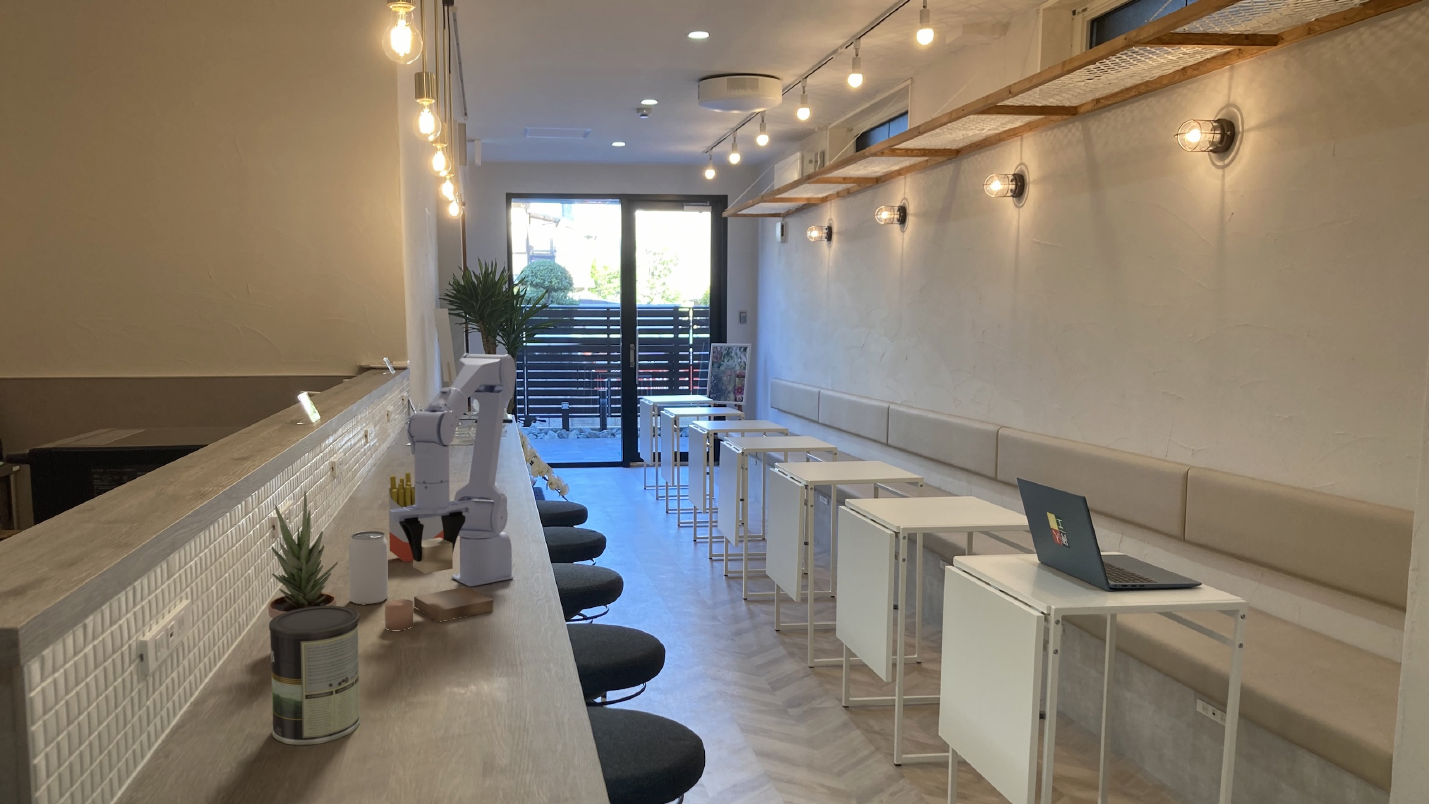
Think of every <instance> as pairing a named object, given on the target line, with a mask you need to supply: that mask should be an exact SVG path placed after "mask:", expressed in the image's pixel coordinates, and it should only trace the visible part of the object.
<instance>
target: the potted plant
mask: <svg viewBox="0 0 1429 804" xmlns="http://www.w3.org/2000/svg"><path fill="white" fill-rule="evenodd" d="M303 492H304V493H303V508H302V510H303V511H302V525H301V530H300V527H299V525H297V532H296V533H297V534H296V535H297V538H296V539H297V540H295V539H294V536H293V535H292V533H291V530H290V529H289V527H288V524H287V523H286V521H285V519H284V517H283V515H282V514H281V512H280V510H279V508H278V506H277V505H276V504H274V507H275V509H274V510H275V513H276V516H277V519H278V522H279V528H280V531H281V532H280V533H281V535H282V539H283V542H284V544H285V546H284V545H283V543H282V541H279V546H280V549H281V551H282V554H283V555H284V556H283V555H282V554H280V552H278V551H277V550H276V549H275V548H274V547H273V546H271V551H272V552H273V554H274V555H275V557H276V558H277V560H278V562H279V564H280V566H281V568H282V570H283V572H284V573H285V575H284V574H281V575H280V574H278V575H276V574H275V573H271V575H272V576H273V578H274V579H276V580H277V581H278V582H279V583H281V585H283V586H284V587H285V588H286V590H287V591H288V592H289V593H288V592H286V590H284V589H281V588H279V589H278V590H279V592H281V593H282V594H283V595H281V596H278V597H276V598H273V599H272V600H271V601H269V603H268V605H267V606H268V616H269V618H271V620H272V619H273V618H275V617H276V616H278V615H280V614H283V613H285V612H288V611H292V610H296V609H301V608H306V607H315V606H337V605H336V603H337V598H336V596H335V595H334V594H332V593H328V592H323V590H324V589H325V587H326V585H325V584H326V582H327V581H328V579H329V578H330V576H332V575H331V574H332V572H331V571H332V570H333V569H334V568H335V567H336V566H337V565H338V563H339V561H336V562H335V563H334V564H333V565H332V566H331V567H330V568H329V569H328V570H326V571H325V572H324V573H322V574H321V575H320V573H321V571H322V570H323V567H324V565H323V564H321V563H322V559H321V558H322V555H323V552H324V550H325V545H324V544H323V545H322V547H321V543H322V539H323V532H324V531H323V530H321V531H320V532H319V535H318V537H317V539H316V540H315V542H314V543H313V544H312V546H311V545H310V544H311V542H310V541H311V534H312V529H311V528H312V526H311V520H312V519H311V518H312V516H311V510H308V504H307V503H308V502H307V492H306V490H304V491H303ZM296 541H297V542H296ZM310 546H311V547H310ZM320 547H321V548H320ZM319 575H320V576H319Z"/></svg>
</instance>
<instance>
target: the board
mask: <svg viewBox="0 0 1429 804" xmlns="http://www.w3.org/2000/svg"><path fill="white" fill-rule="evenodd" d="M414 607H416V608H418V609H419V610H420V611H419V610H418V611H419V612H421V611H422V612H424V613H425V614H424V613H423V614H424V615H426V616H427V615H428V616H427V617H429V616H430V617H429V618H431V617H432V618H433V619H432V618H431V619H432V620H434V619H435V620H434V621H436V620H437V621H439V622H438V623H441V622H440V621H443V622H445V621H444V620H448V621H451V620H450V619H453V618H457V619H460V618H459V617H462V618H465V616H467V617H472V616H476V615H481V614H485V612H486V613H490V612H494V599H492V598H490V597H488V596H486V595H484V594H483V593H481V592H478V591H477V590H474V589H472V588H471V587H470V586H462V587H458V588H452V589H451V588H450V589H447V590H442V591H437V592H435V591H434V592H431V593H425V594H421V595H420V594H419V595H415V596H413V608H414ZM416 608H415V609H416ZM422 612H421V613H422ZM480 613H481V614H480ZM471 615H472V616H471ZM453 620H454V619H453ZM437 621H436V622H437Z"/></svg>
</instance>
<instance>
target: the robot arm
mask: <svg viewBox="0 0 1429 804" xmlns="http://www.w3.org/2000/svg"><path fill="white" fill-rule="evenodd" d="M457 373H458V374H457V375H456V378H455V379H454V380H453V382H452V384H451V385H450V386H449V387H448V386H447V387H442V388H441V389H440V390H439V391H438V393H437V394H435V396H434V397H433V399H432V400H431V401H430V403H429V404H428V405H427V406H426V408H425V409H424V410H421V411H416V412H415V413H414V414H412V415H411V416H410V418H409V420H408V425H407V429H406V434H407V438H408V441H409V443H410V452H411V455H413V456H414V457H413V459H414V460H413V461H414V462H413V463H414V464H413V465H414V484H415V505H412V506H408V507H403V508H398V509H393V510H389V509H388V521H390V522H392V523H398V522H399V524H400V526H401V527H402V529H403V531H404V533H405V535H406V537H407V539H408V542H409V545H410V548H411V551H412V556H413V560H415V561H417V562H420V561H421V560H422V534H423V528H424V525H423V524H421V523H420V521H418V519H421V518H428V517H436V516H441V519H442V525H443V534H444V540H446V541H449V542H451V543H452V550H453V552H454V550H455V546H456V543H457V539H458V537H459V573H457V574H452V575H451V578H452V579H454V580H455V581H458V582H460V583H462V584H464V585H466V587H476V586H480V585H486V584H491V583H497V582H501V581H506V580H507V581H508V580H513V579H514V578H515V577H514V575H513V574H512V573H513V572H512V571H513V570H512V569H513V568H512V567H513V566H512V561H513V559H512V558H513V557H512V556H513V555H512V554H513V553H512V552H513V549H512V548H513V547H512V542H511V538H510V536H509V535H508V533H507V532H505V531H504V530H505V528H506V526H507V523H508V517H509V516H508V515H509V514H508V497H507V496H506V494H505V493H504V492H503V491H502V490H501V488H498V487H497V485H495V484H496V478H497V471H498V461H499V454H500V446H501V440H502V439H501V438H502V431H503V424H504V416H505V415H504V414H505V410H506V409H505V408H506V402H508V401H510V400H511V399H513V398H514V392H515V387H516V379H517V378H516V377H517V368H516V363H515V359H514V358H513V357H512V355H511V354H507V353H506V354H487V353H486V354H484V353H483V354H481V353H479V354H478V353H469V352H464V353H463V355H461V357H460V359H459V361H458V364H457ZM469 397H470V398H472V399H473V400H474V401H475V400H476V401H477V403H478V414H477V421H476V426H475V427H476V428H475V434H474V435H475V436H474V442H473V449H472V455H471V464H470V473H469V480H468V483H467V484H465V485H464V486H463V487H461V488H460V489H458V490H456V491H455V495H454V499H453V501H450V445H451V444H452V443H453V441H454V438H455V435H456V430H457V429H458V423H459V420H461V418H462V416H463V415H464V414H465V413H466V411H467V410H468V407H469V403H468V398H469Z"/></svg>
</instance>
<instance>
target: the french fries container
mask: <svg viewBox="0 0 1429 804" xmlns="http://www.w3.org/2000/svg"><path fill="white" fill-rule="evenodd" d="M404 474H405V477H399V482H398V483H397V477H396V474H395V475H390V476H389V483H390V487H388V488H389V489H388V507H389V508H388V511H389V510H393V509H398V508H403V507H408V506H412V505H415V483H414V484H413V485H414V486H412V481H411V480H412V478H411V472H405V473H404ZM397 485H398V486H397ZM388 521H389V520H388ZM418 521H420V523H421V524H423V525H424V528H423V534H422V540H427V539H434V538H442V539H444V534H443V525H442V519H441V516H436V517H428V518H421V519H418ZM388 523H389V525H388V527H389V529H388V533H389V534H388V535H389V538H388V539H389V551H390V552H391V553H392V554H394V555H395V556H396V557H397V558H398V559H400V560H401V561H402V562H413V556H412V551H411V548H410V545H409V542H408V539H407V537H406V535H405V533H404V531H403V529H402V527H401V526H400V524H399V522H398V523H392V522H390V521H389V522H388Z"/></svg>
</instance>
